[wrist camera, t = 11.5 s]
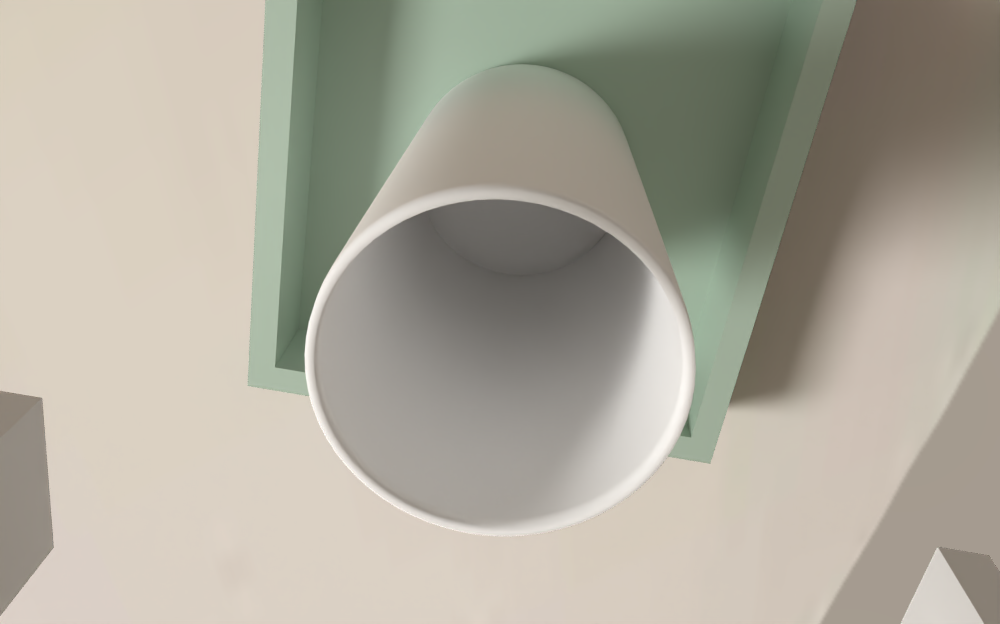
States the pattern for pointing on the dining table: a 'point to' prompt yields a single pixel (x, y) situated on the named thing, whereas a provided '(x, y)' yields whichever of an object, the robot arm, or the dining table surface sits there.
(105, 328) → the dining table surface
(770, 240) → the bin
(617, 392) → the cup
